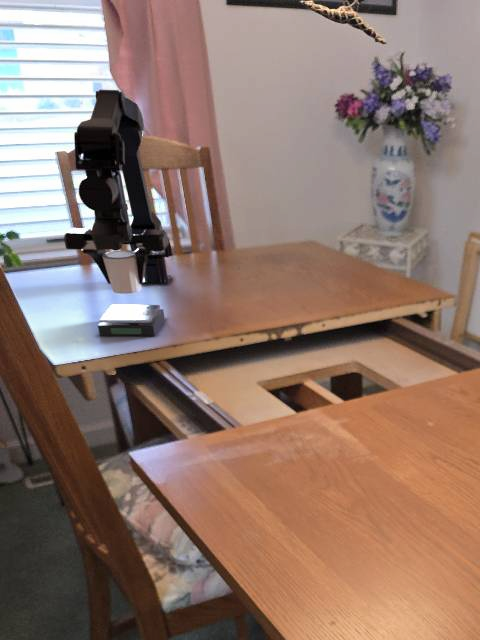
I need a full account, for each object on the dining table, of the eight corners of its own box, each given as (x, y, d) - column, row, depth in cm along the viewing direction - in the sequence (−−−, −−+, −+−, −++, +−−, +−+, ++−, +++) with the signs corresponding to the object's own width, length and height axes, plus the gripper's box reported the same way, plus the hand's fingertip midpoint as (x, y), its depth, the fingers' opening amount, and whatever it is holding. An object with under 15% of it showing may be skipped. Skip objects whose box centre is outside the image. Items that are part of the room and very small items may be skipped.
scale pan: (112, 307, 152) (111, 304, 151) (160, 307, 153) (159, 305, 152) (100, 322, 144) (99, 319, 143) (150, 322, 145) (150, 320, 144)
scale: (113, 318, 154) (110, 306, 152) (164, 319, 155) (163, 307, 153) (99, 336, 144) (96, 324, 143) (154, 336, 145) (152, 324, 144)
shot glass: (149, 285, 148) (143, 250, 144) (136, 295, 142) (129, 259, 138) (118, 283, 148) (111, 248, 144) (103, 293, 143) (95, 257, 139)
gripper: (45, 208, 128) (66, 295, 137) (151, 210, 130) (164, 296, 139) (64, 196, 137) (82, 279, 146) (162, 198, 139) (174, 280, 148)
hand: (125, 283), depth 145 cm, fingers closed on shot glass, 6 cm apart
